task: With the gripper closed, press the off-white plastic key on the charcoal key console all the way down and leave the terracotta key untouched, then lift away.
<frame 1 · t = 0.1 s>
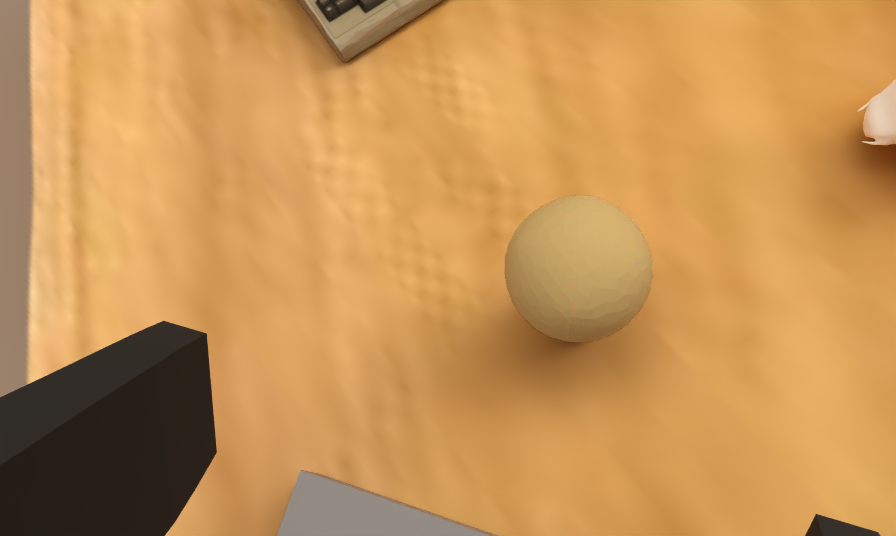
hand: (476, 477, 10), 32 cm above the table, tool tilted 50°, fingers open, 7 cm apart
light bulb: (573, 308, 43), on the table
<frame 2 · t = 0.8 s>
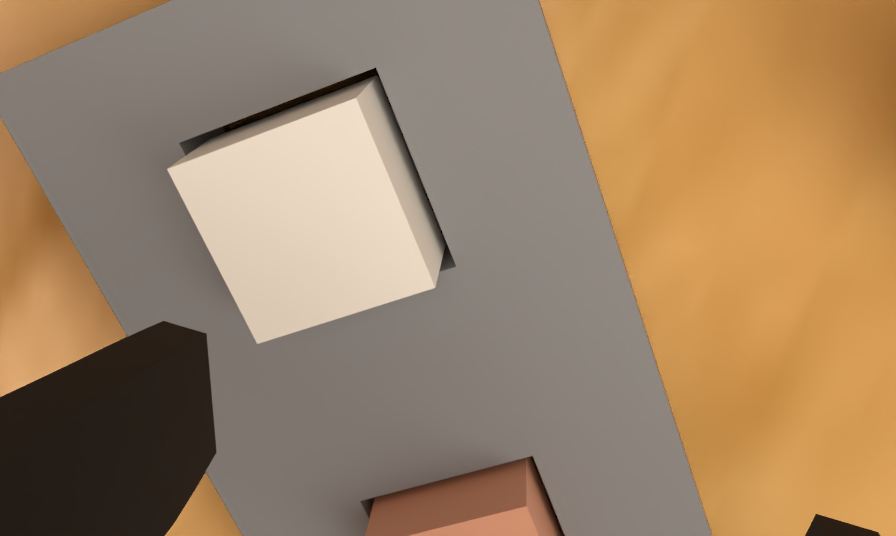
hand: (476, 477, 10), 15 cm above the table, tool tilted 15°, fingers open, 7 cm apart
key console: (416, 342, 26), on the table
white key: (317, 209, 21), point 3 cm above the table, slide at 0.0 cm
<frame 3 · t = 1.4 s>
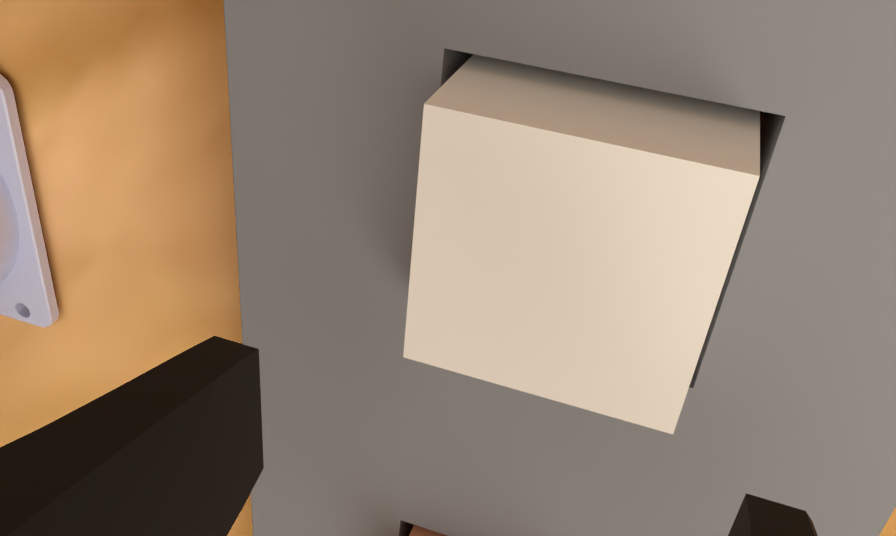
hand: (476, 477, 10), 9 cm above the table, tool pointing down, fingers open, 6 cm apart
key console: (555, 380, 21), on the table
white key: (573, 236, 15), point 3 cm above the table, slide at 0.0 cm
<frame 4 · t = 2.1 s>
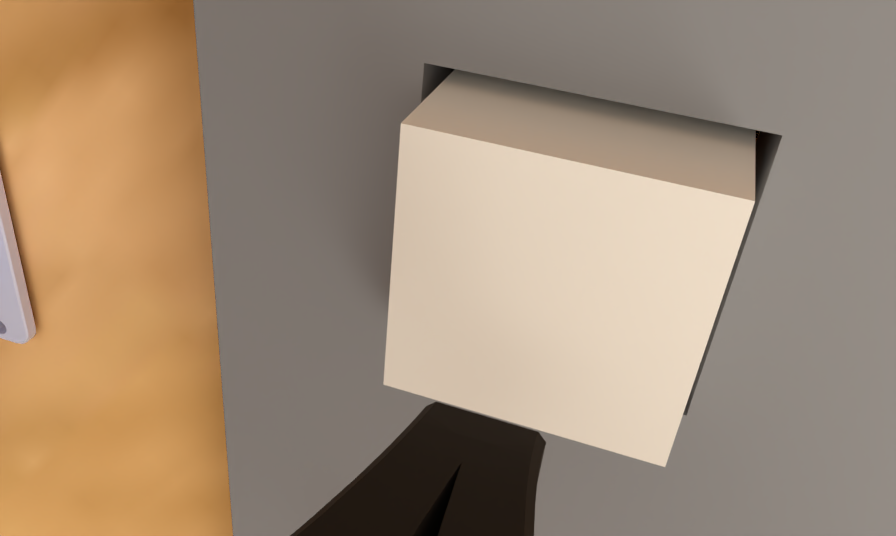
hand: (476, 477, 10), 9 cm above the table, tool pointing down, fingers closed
key console: (545, 400, 20), on the table
white key: (560, 259, 14), point 3 cm above the table, slide at 0.0 cm
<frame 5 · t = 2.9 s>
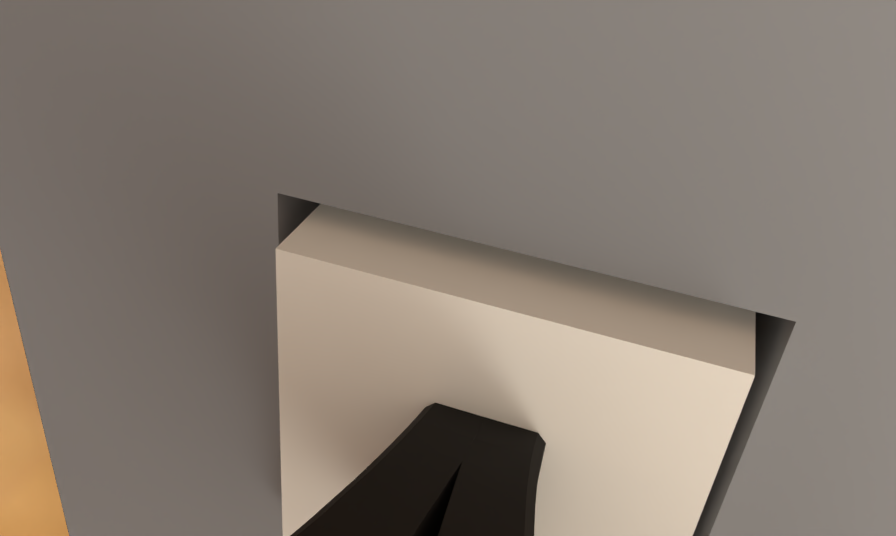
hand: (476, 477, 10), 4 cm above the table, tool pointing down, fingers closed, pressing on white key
white key: (504, 400, 11), point 2 cm above the table, slide at 1.2 cm, touching gripper
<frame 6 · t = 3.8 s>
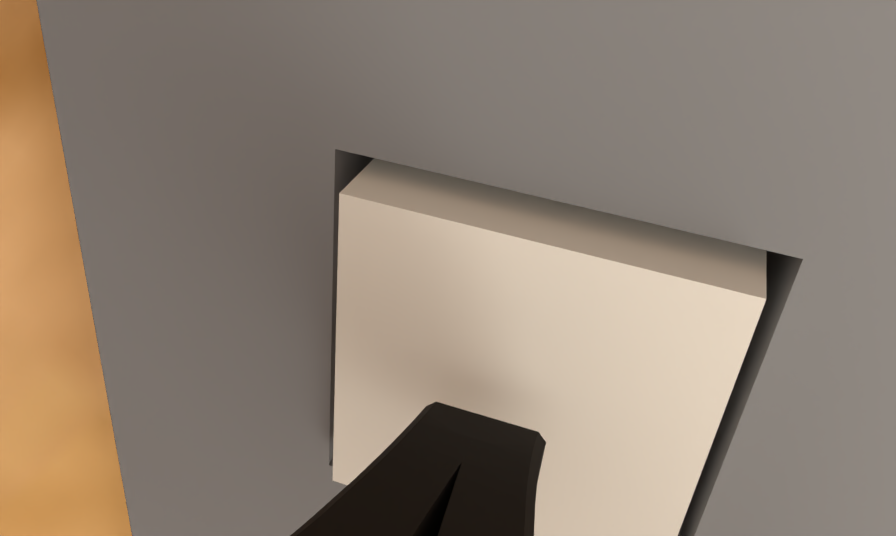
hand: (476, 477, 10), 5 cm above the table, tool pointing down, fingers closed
key console: (514, 514, 17), on the table
white key: (536, 340, 12), point 2 cm above the table, slide at 1.3 cm
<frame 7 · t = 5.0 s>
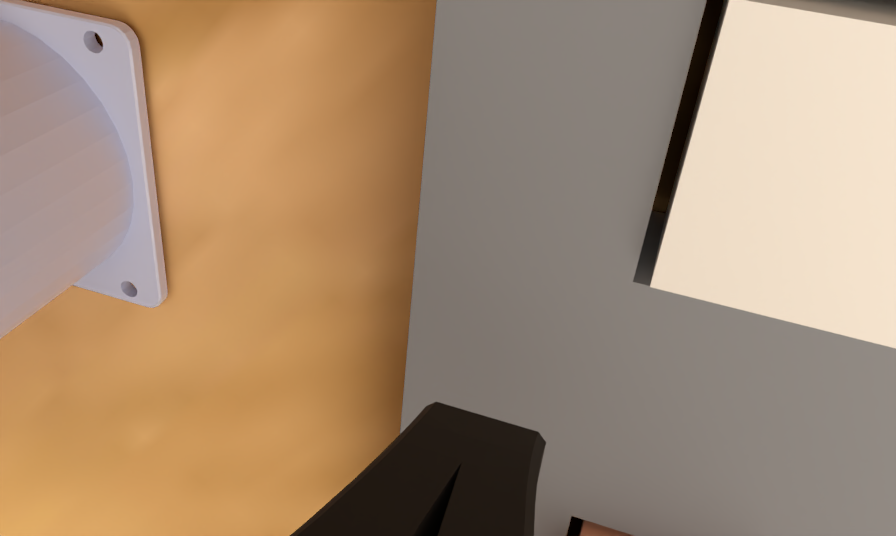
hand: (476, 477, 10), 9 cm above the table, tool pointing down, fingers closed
key console: (741, 361, 19), on the table
white key: (843, 155, 14), point 2 cm above the table, slide at 1.3 cm
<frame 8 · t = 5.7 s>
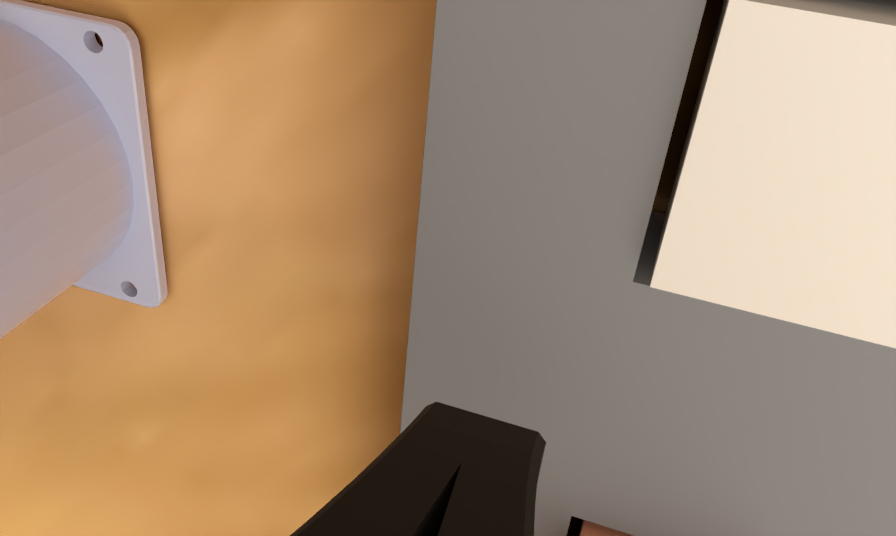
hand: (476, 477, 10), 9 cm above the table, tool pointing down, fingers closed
key console: (741, 361, 19), on the table
white key: (843, 155, 14), point 2 cm above the table, slide at 1.3 cm
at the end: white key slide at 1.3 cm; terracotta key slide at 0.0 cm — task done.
